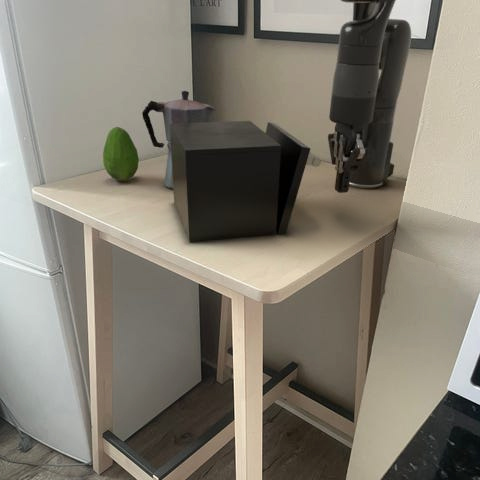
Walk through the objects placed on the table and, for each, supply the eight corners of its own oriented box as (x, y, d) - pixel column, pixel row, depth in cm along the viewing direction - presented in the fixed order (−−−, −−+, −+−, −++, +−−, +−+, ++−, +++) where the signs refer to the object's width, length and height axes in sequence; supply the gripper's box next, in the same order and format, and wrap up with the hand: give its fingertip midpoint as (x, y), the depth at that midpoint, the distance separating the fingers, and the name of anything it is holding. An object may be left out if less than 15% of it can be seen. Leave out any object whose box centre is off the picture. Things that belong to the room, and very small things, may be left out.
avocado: (123, 187, 112) (117, 132, 105) (99, 181, 116) (91, 127, 109) (147, 179, 118) (143, 125, 111) (123, 173, 121) (117, 121, 115)
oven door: (272, 201, 109) (292, 127, 101) (304, 237, 92) (330, 152, 85) (249, 197, 107) (267, 121, 99) (277, 233, 91) (302, 146, 83)
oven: (248, 199, 107) (250, 120, 98) (276, 235, 91) (281, 145, 82) (174, 204, 104) (169, 123, 95) (189, 243, 87) (185, 150, 79)
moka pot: (220, 189, 112) (219, 93, 101) (152, 195, 108) (143, 95, 97) (210, 177, 119) (209, 86, 108) (146, 182, 116) (137, 88, 105)
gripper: (392, 98, 80) (375, 201, 90) (357, 86, 91) (344, 179, 101) (350, 99, 79) (337, 204, 88) (319, 87, 90) (310, 182, 99)
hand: (341, 191), depth 94 cm, fingers closed
